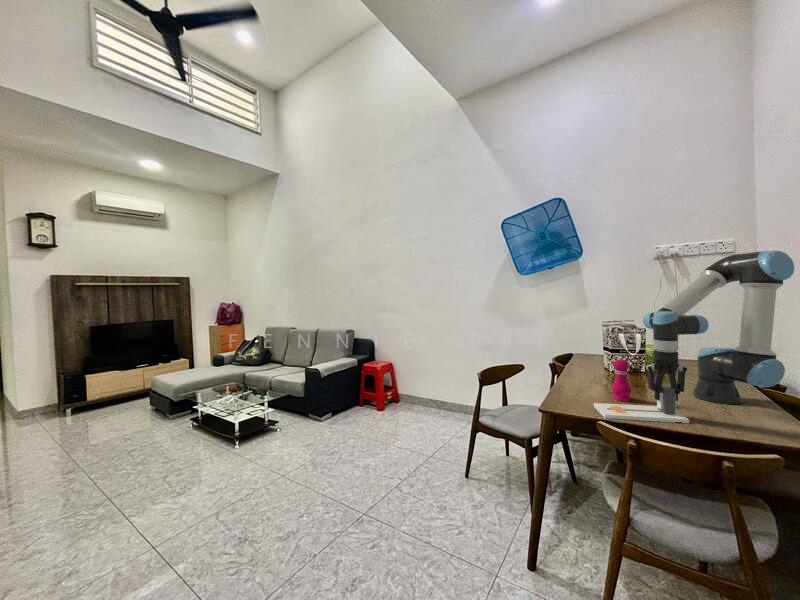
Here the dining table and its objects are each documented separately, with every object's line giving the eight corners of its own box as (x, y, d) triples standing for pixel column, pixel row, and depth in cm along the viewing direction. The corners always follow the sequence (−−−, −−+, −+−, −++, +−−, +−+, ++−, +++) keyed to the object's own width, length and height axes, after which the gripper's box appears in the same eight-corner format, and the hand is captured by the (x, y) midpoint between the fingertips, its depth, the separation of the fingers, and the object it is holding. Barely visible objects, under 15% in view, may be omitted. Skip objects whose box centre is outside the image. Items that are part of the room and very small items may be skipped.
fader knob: (667, 409, 127) (667, 385, 127) (675, 414, 123) (674, 388, 122) (657, 408, 128) (657, 384, 128) (664, 413, 123) (664, 388, 123)
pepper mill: (634, 402, 141) (633, 358, 140) (616, 401, 142) (615, 358, 142) (626, 396, 148) (625, 354, 147) (609, 396, 149) (608, 354, 149)
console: (669, 410, 131) (669, 406, 131) (689, 423, 118) (689, 419, 118) (593, 406, 138) (593, 402, 138) (605, 418, 125) (605, 414, 125)
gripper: (684, 348, 126) (685, 406, 127) (636, 348, 130) (637, 403, 131) (696, 352, 119) (697, 413, 120) (646, 351, 123) (646, 410, 124)
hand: (666, 408), depth 125 cm, fingers closed on fader knob, 3 cm apart
